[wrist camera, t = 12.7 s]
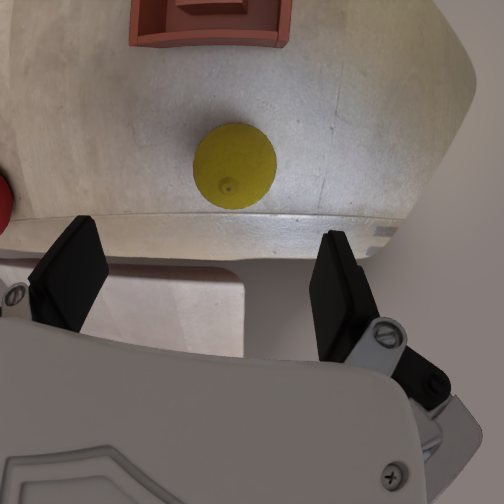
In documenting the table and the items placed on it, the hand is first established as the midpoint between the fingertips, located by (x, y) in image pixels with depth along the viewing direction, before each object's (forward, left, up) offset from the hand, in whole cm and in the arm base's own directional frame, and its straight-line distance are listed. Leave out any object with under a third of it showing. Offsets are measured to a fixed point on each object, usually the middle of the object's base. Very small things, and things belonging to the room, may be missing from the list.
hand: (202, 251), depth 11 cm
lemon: (0, 0, -14) cm, 14 cm away
